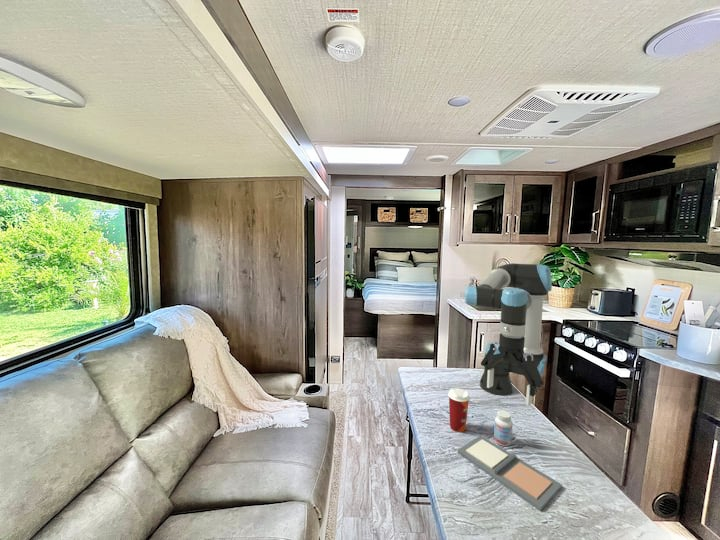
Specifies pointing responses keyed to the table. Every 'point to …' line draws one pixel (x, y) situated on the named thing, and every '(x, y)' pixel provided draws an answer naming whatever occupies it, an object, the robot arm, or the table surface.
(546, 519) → the table surface
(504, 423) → the pill bottle
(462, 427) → the coffee cup
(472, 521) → the table surface
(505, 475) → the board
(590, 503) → the table surface
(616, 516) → the table surface
